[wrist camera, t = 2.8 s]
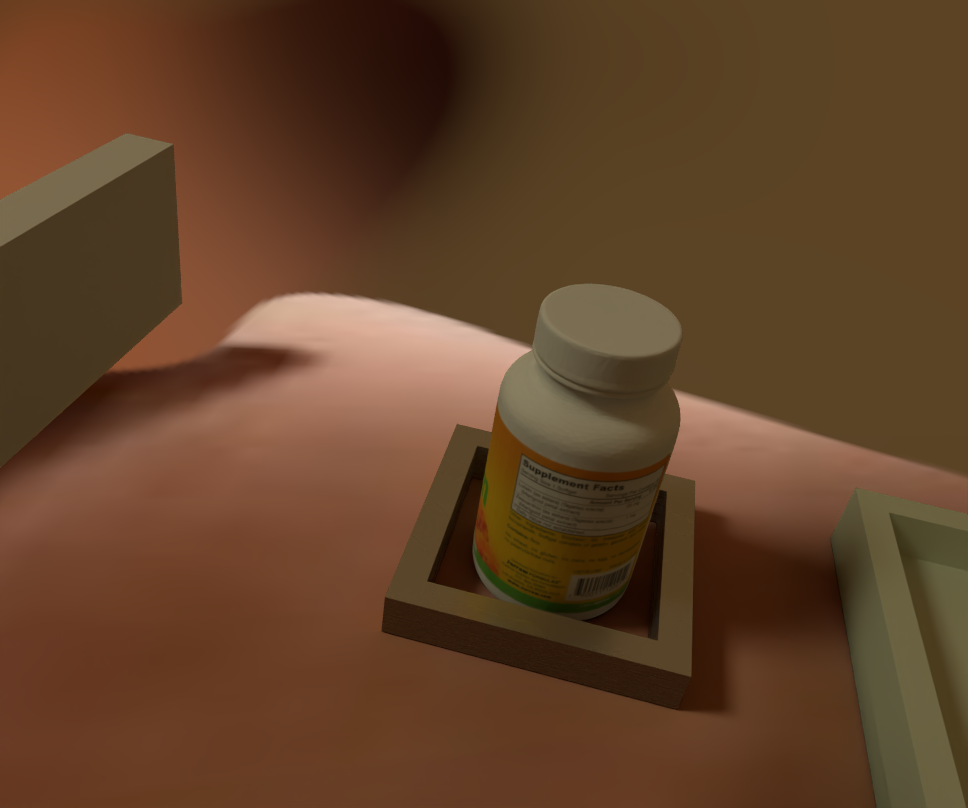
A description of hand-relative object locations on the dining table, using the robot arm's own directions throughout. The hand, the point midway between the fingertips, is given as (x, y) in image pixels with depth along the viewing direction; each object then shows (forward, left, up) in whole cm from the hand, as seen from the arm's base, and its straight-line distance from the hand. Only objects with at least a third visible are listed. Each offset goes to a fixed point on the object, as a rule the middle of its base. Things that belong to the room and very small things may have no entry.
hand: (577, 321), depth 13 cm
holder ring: (-1, -10, -15) cm, 18 cm away
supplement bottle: (-1, -10, -15) cm, 18 cm away
